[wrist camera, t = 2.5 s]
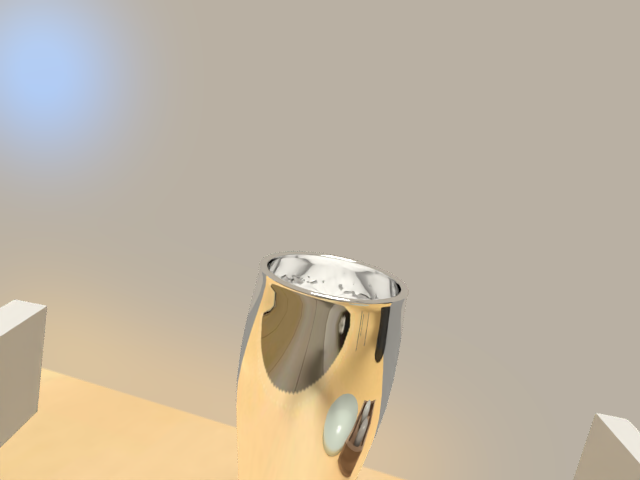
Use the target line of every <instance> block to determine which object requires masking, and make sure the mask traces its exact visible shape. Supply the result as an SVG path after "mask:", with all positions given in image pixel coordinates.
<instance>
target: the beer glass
mask: <svg viewBox="0 0 640 480" xmlns="http://www.w3.org/2000/svg"><path fill="white" fill-rule="evenodd" d="M407 296H408V287H407V285H406V284H405V283H404V282H403V281H402V280H401V279H399V278H398V277H396V276H395V275H393V274H391V273H390V272H388V271H385V270H383V269H381V268H378V267H376V266H373V265H370V264H367V263H364V262H361V261H358V260H354V259H350V258H345V257H341V256H336V255H331V254H324V253H316V252H303V251H288V252H279V253H274V254H270V255H268V256H266V257H264V258H263V259H262V260H261V261H260V268H259V273H258V277H257V281H256V285H255V289H254V292H253V296H252V300H251V304H250V308H249V313H248V317H247V321H246V325H245V330H244V336H243V340H242V346H241V352H240V360H239V368H238V375H237V400H236V411H237V412H236V417H237V452H238V479H237V480H356V479H357V477H358V474H359V472H360V470H361V468H362V466H363V463H364V461H365V459H366V456H367V454H368V452H369V449H370V447H371V445H372V443H373V441H374V438H375V436H376V434H377V431H378V428H379V425H380V423H381V420H382V418H383V415H384V412H385V409H386V406H387V403H388V399H389V395H390V391H391V388H392V384H393V380H394V375H395V370H396V365H397V360H398V354H399V348H400V342H401V335H402V328H403V320H404V312H405V306H406V300H407Z"/></svg>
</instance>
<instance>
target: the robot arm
mask: <svg viewBox="0 0 640 480" xmlns="http://www.w3.org/2000/svg"><path fill="white" fill-rule="evenodd" d="M46 312H47V306H45V305H40V304H35V303H30V302H24V301H19V300H13V301H11V302H10V303H8V304H6V305H4V306H2V307H1V308H0V447H1V446H2V445H3V444H4V443H5V442H6V441H7V440H9V439H10V438H11V437H12V436H13V435H14V434H15V433H16V432H17V431H18V430H19V429H20V428H21V427H22V426H23V425H24V424H25V423H26V422H27V421H28V420H29V419H30V418H31V417H32V416H33V415H34V414H35V413H36V412H37V409H38V398H39V387H40V377H41V366H42V355H43V344H44V333H45V322H46ZM573 480H640V432H639V431H638V430H637V429H636V428H635V427H634V426H633V425H632V424H631V423H630V421H629V420H628V419H624V418H619V417H614V416H609V415H604V414H598V413H596V414H595V416H594V420H593V422H592V425H591V428H590V431H589V434H588V437H587V440H586V443H585V447H584V449H583V452H582V455H581V458H580V461H579V464H578V467H577V470H576V473H575V476H574V479H573Z"/></svg>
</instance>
